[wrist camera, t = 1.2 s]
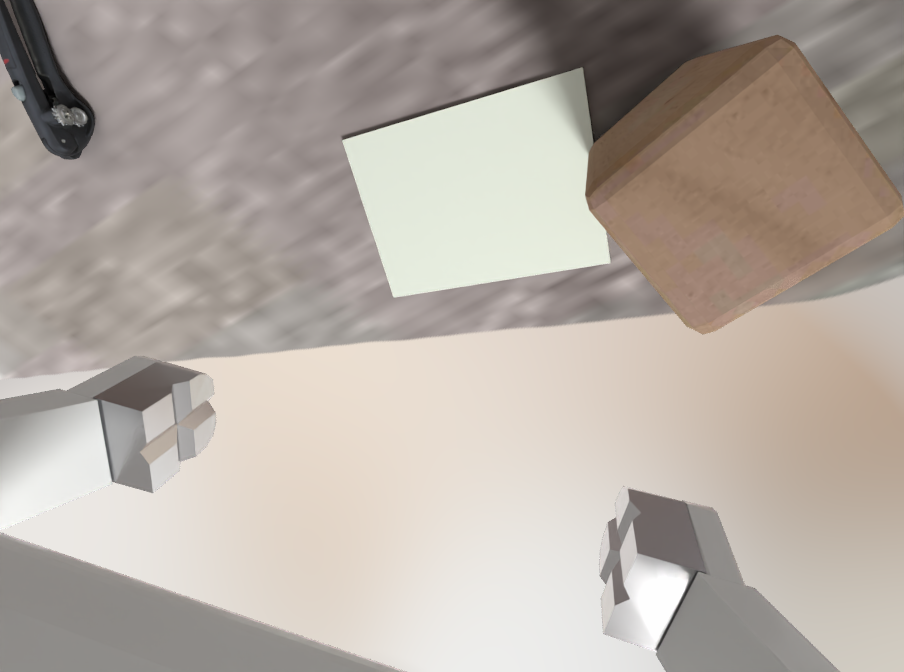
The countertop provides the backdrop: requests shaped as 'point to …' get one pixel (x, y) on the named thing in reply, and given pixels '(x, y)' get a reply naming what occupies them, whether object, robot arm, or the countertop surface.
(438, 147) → the mat
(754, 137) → the wooden block
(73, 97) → the can opener
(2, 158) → the countertop surface
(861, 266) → the countertop surface
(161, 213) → the countertop surface
